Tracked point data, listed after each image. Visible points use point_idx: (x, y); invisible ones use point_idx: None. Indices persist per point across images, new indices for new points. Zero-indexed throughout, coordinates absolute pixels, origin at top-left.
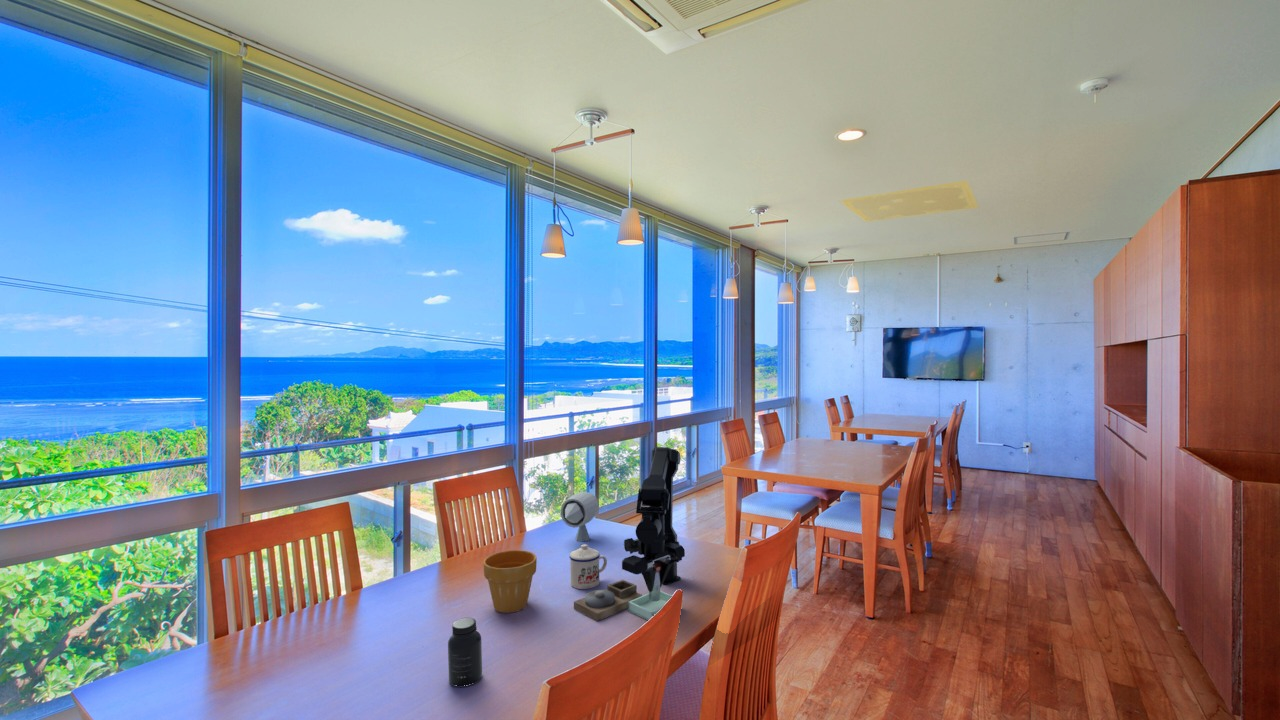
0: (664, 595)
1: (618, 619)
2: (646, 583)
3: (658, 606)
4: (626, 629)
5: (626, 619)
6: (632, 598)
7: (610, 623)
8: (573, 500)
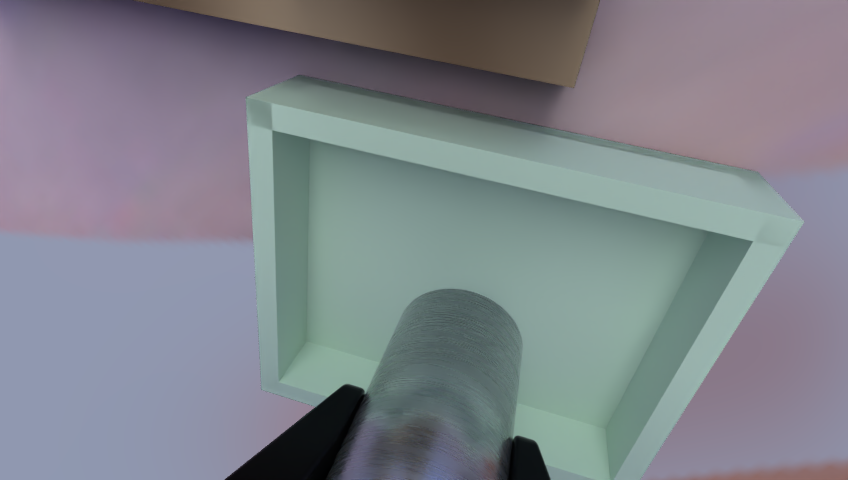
0: (685, 332)
1: (146, 99)
2: (260, 464)
3: (514, 299)
4: (118, 238)
5: (196, 157)
6: (398, 45)
7: (62, 85)
8: None
